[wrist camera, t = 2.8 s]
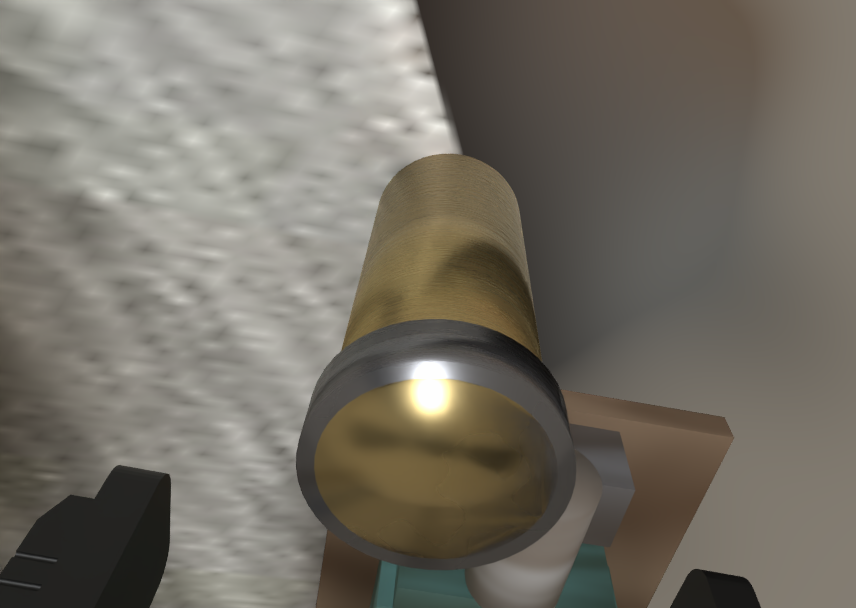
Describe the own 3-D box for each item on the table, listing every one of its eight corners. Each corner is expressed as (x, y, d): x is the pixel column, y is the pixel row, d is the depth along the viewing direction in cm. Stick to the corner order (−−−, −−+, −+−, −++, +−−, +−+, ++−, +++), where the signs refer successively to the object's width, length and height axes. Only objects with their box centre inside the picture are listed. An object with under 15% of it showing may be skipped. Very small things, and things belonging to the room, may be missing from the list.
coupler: (378, 128, 19) (309, 337, 11) (549, 160, 20) (612, 389, 11) (357, 278, 22) (285, 548, 13) (509, 305, 22) (536, 587, 13)
